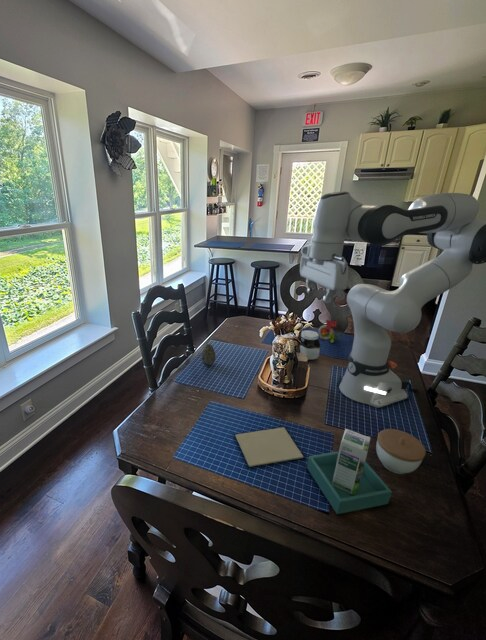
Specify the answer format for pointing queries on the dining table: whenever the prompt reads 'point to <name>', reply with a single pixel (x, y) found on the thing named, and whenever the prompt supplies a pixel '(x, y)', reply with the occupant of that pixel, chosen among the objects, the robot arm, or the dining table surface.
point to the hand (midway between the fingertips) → (318, 297)
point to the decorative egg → (208, 355)
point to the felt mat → (268, 446)
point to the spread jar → (310, 344)
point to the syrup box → (350, 461)
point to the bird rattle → (325, 331)
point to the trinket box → (399, 451)
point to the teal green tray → (367, 495)
